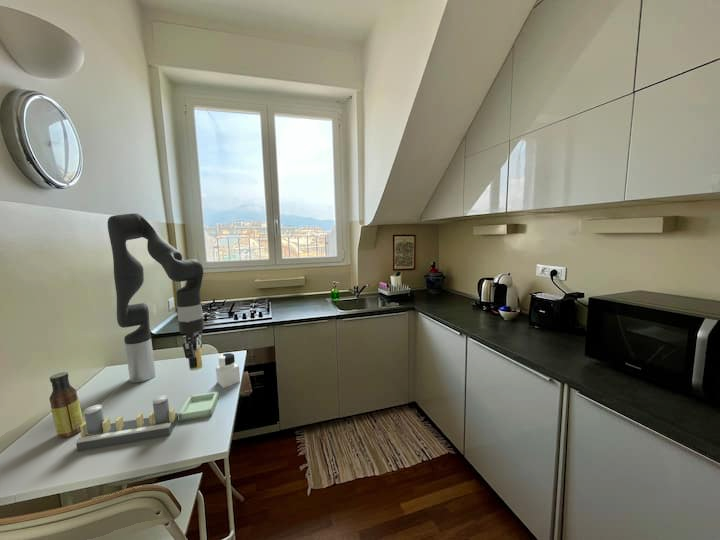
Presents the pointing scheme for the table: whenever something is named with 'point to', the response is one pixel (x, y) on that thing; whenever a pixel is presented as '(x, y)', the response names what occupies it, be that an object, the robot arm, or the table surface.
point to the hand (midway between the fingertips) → (195, 364)
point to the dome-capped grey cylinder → (94, 420)
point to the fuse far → (161, 409)
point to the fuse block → (126, 431)
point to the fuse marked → (199, 359)
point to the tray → (199, 406)
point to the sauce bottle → (65, 406)
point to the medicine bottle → (227, 370)
